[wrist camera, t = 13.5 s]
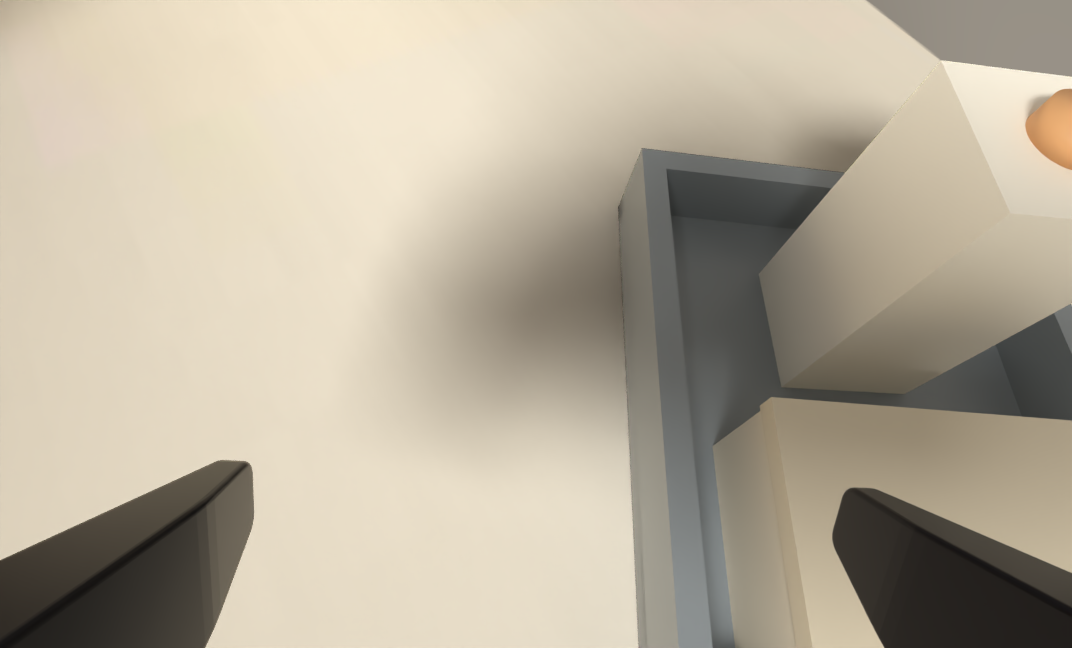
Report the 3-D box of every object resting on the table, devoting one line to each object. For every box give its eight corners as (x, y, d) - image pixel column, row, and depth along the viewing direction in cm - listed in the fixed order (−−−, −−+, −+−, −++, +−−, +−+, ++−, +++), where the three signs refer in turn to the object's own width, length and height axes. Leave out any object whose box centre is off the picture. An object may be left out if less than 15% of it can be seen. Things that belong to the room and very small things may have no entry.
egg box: (1077, 699, 21) (1245, 714, 16) (737, 691, 20) (822, 705, 15) (997, 463, 25) (1117, 424, 20) (709, 443, 23) (771, 396, 19)
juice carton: (904, 393, 26) (1239, 212, 15) (781, 387, 25) (1038, 192, 14) (871, 282, 28) (1136, 59, 17) (758, 274, 28) (961, 36, 17)
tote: (1146, 763, 21) (1286, 786, 18) (643, 757, 19) (688, 782, 16) (957, 244, 31) (1022, 194, 28) (618, 207, 30) (642, 148, 26)
